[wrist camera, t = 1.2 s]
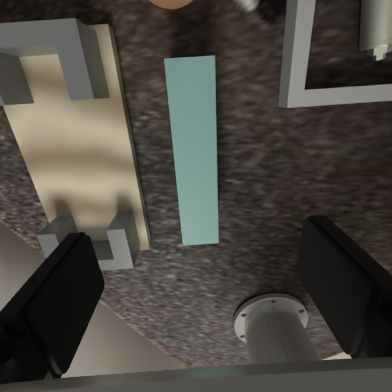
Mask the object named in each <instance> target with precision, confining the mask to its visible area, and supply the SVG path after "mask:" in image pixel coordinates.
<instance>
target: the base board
mask: <svg viewBox="0 0 392 392" xmlns="http://www.w3.org/2000/svg"><path fill="white" fill-rule="evenodd" d="M87 26H88V27H90V28H91V29H93V30H94V31H96V34H97V39H98V44H99V49H100V54H101V59H102V64H103V68H104V73H105V78H106V83H107V88H108V93H109V97H110V98H104V99H90V100H72V101H70V97H69V93H68V90H67V86H66V82H65V79H64V75H63V72H62V68H61V64H60V61H59V57H58V54H54V55H40V56H26V57H19V59H20V62H21V65H22V68H23V71H24V74H25V77H26V80H27V83H28V86H29V89H30V92H31V95H32V98H33V100H34V103H32V104H18V105H3V107H4V110H5V112H6V115H7V117H8V120H9V122H10V125H11V127H12V130H13V132H14V135H15V138H16V140H17V143H18V145H19V148H20V150H21V153H22V155H23V158H24V160H25V163H26V165H27V168H28V170H29V173H30V175H31V178H32V181H33V183H34V186H35V188H36V191H37V193H38V196H39V198H40V201H41V203H42V206H43V208H44V211H45V213H46V216H47V219H48V221H49V223H50V222H51V221H52V220H54V219H55V218H56V217H59V216H73V219H74V222H75V224H76V227H77V230H78V232H84V233H85V234H86V235H89V236H90V238H91V241H101V240H109V239H108V235H107V232H106V230H107V228H108V227H109V225H110V223H111V222H112V220H113V218H114V217H115V215H116V214H117V213H118V212H133V214H134V219H135V223H136V228H137V233H138V238H139V243H140V250H150V247H151V237H150V232H149V226H148V220H147V215H146V209H145V204H144V198H143V192H142V187H141V181H140V176H139V170H138V164H137V159H136V153H135V148H134V142H133V137H132V131H131V125H130V120H129V114H128V109H127V103H126V97H125V92H124V86H123V81H122V75H121V69H120V64H119V58H118V53H117V47H116V42H115V36H114V30H113V28H112V27H111V26H110V25H109V24H100V25H87Z"/></svg>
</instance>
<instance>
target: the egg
mask: <svg viewBox="0 0 392 392" xmlns="http://www.w3.org/2000/svg"><path fill="white" fill-rule="evenodd" d="M148 1H150V2H152V3H153V4H155V5H157V6H159V7H162V8H166V9H178V8H181V7H183V6H185V5H188V4H189V3H190V2H192V1H193V0H148Z"/></svg>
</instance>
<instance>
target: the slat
mask: <svg viewBox="0 0 392 392" xmlns="http://www.w3.org/2000/svg"><path fill="white" fill-rule="evenodd" d="M164 63H165V72H166V82H167V92H168V102H169V112H170V122H171V132H172V141H173V151H174V161H175V171H176V181H177V191H178V201H179V211H180V220H181V230H182V240H183V245H196V244H212V243H219V239H218V187H217V135H216V83H215V56H199V57H184V58H168V59H164Z"/></svg>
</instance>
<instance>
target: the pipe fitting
mask: <svg viewBox="0 0 392 392" xmlns="http://www.w3.org/2000/svg"><path fill="white" fill-rule="evenodd" d="M364 50H367V56H368V57H371V56H373V61H378V60H382V59H384V58H386V53H388V52H390V51H392V0H361V19H360V39H359V51H364Z"/></svg>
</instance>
